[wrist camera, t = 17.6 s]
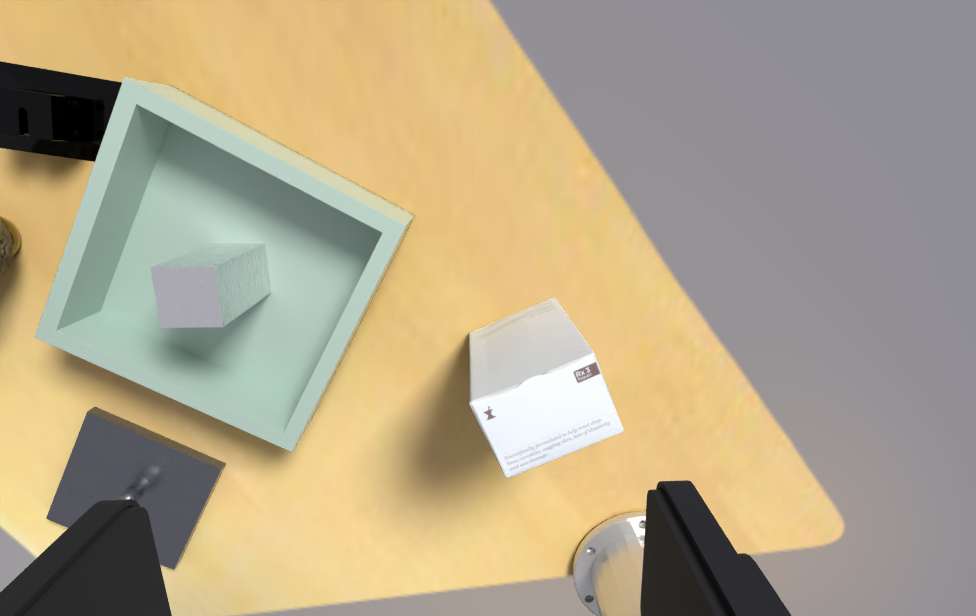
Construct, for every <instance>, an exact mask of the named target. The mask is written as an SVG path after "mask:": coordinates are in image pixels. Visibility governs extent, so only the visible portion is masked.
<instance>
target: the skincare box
mask: <svg viewBox="0 0 976 616" xmlns="http://www.w3.org/2000/svg"><path fill="white" fill-rule="evenodd" d="M469 349H470V350H469V352H470V402H469V405H470V407H471V409H472V411H473V413H474V415H475V417H476V419H477V421H478V423H479V425H480V427H481V429H482V431H483V433H484V435H485V437H486V439H487V441H488V443H489V445H490V447H491V449H492V451H493V453H494V455H495V457H496V459H497V461H498V463H499V465H500V466H501V468H502V470H503V472H504V474H505V476H506V478H510V477H512V476H515V475H518V474H520V473H522V472H525V471H527V470H530V469H532V468H535V467H537V466H540V465H542V464H545V463H547V462H550V461H552V460H555V459H557V458H560V457H562V456H565V455H567V454H570V453H572V452H575V451H577V450H580V449H582V448H585V447H587V446H590V445H592V444H595V443H597V442H600V441H602V440H605V439H607V438H610V437H612V436H615V435H617V434H620V433H622V432H623V431H624V430H623V428H622V425H621V422H620V420H619V417H618V414H617V412H616V409H615V407H614V404H613V401H612V399H611V396H610V393H609V391H608V388H607V385H606V383H605V380H604V378H603V375H602V372H601V370H600V367H599V365H598V362H597V359H596V356H595V354H594V352H593V351H592V349H591V348H590V346H589V345H588V344H587V342H586V341H585V339H584V338H583V337H582V335H581V334H580V332H579V331H578V329H577V328H576V326H575V325H574V324H573V322H572V321H571V319H570V318H569V316H568V315H567V314H566V312H565V311H564V309H563V308H562V306H561V305H560V304H559V302H558V301H557V299H556V298H555V297H553V298H550V299H547V300H545V301H543V302H540V303H538V304H535V305H533V306H531V307H528V308H526V309H523V310H521V311H518V312H516V313H513V314H511V315H509V316H506V317H504V318H501V319H499V320H497V321H495V322H492V323H490V324H488V325H486V326H484V327H482V328H479V329H476V330H474V331H471V332H469Z"/></svg>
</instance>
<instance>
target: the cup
mask: <svg viewBox="0 0 976 616" xmlns="http://www.w3.org/2000/svg"><path fill="white" fill-rule="evenodd" d="M20 242H21V239H20V234H19V232H18V230H17V228H16V227H15V225H14V224H13V223H12V222H10V221H9V220H8V219H6V218H4V217H1V216H0V275H1V274H2V273H3V272H4V271H5V269H6V268H7V267H8V265H9V264H10V261H11V259H12V256H13V255H14V254H15V253H16V252H17V250H18V249H19V247H20Z"/></svg>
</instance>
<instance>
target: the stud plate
mask: <svg viewBox="0 0 976 616" xmlns="http://www.w3.org/2000/svg"><path fill="white" fill-rule="evenodd" d="M225 465H226V463H223V462H221V461H219V460H216V459H214V458H212V457H210V456H207V455H205V454H203V453H200V452H198V451H196V450H193V449H191V448H189V447H186V446H184V445H182V444H180V443H177V442H175V441H173V440H170V439H168V438H166V437H163V436H161V435H159V434H157V433H154V432H152V431H150V430H147V429H145V428H143V427H140V426H138V425H136V424H133V423H131V422H129V421H127V420H124V419H122V418H120V417H117V416H115V415H113V414H110V413H108V412H106V411H104V410H101V409H99V408H97V407H94V408H92V409H91V410H89V411H88V412H87V414H86V417H85V419H84V422H83V424H82V427H81V430H80V432H79V435H78V437H77V440H76V442H75V445H74V448H73V450H72V453H71V455H70V458H69V461H68V463H67V466H66V468H65V471H64V474H63V476H62V479H61V481H60V484H59V487H58V489H57V492H56V494H55V497H54V500H53V502H52V505H51V507H50V510H49V513H48V515H47V518H46V519H48V520H51V521H53V522H56V523H58V524H61V525H63V526H66V527H68V528H69V527H70V526H71V525H73V524H74V523H75V522H76V521H77V520H78V519H79V518H80V517H81V516H82V515H83V514H84V513H85V512H86V511H87V510H88V509H89V508H91V507H92V506H93V505H94V504H95V503H97V502H98V501H102V500H128V499H132V500H135V501H137V503H138V504H139V506H140V507H143V508H145V509H146V510H147V512H148V515H149V519H150V523H151V528H152V532H153V537H154V541H155V545H156V550H157V554H158V558H159V563H160V564H161V565H164V566H166V567H169V568H171V569H175V568H176V566H177V565H178V564H179V562H180V560H181V558H182V556H183V554H184V552H185V550H186V547H187V545H188V543H189V541H190V539H191V537H192V535H193V533H194V530H195V528H196V526H197V524H198V522H199V520H200V518H201V516H202V513H203V511H204V509H205V507H206V505H207V503H208V501H209V499H210V497H211V494H212V492H213V490H214V488H215V486H216V484H217V482H218V480H219V477H220V475H221V473H222V471H223V469H224V467H225Z"/></svg>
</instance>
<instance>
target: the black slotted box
mask: <svg viewBox="0 0 976 616" xmlns="http://www.w3.org/2000/svg"><path fill="white" fill-rule="evenodd" d="M121 85H122V83H121V82H115V81H109V80H104V79H98V78H92V77H86V76H81V75H75V74H69V73H63V72H58V71H52V70H46V69H40V68H35V67H29V66H23V65H17V64H12V63H6V62H0V148H6V149H12V150H19V151H26V152H33V153H40V154H46V155H53V156H60V157H67V158H74V159H80V160H87V161H94V162H95V161H96V158H97V155H98V152H99V149H100V146H101V143H102V140H103V137H104V134H105V131H106V129H107V126H108V123H109V120H110V117H111V114H112V111H113V108H114V105H115V102H116V100H117V97H118V94H119V91H120V88H121Z"/></svg>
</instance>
